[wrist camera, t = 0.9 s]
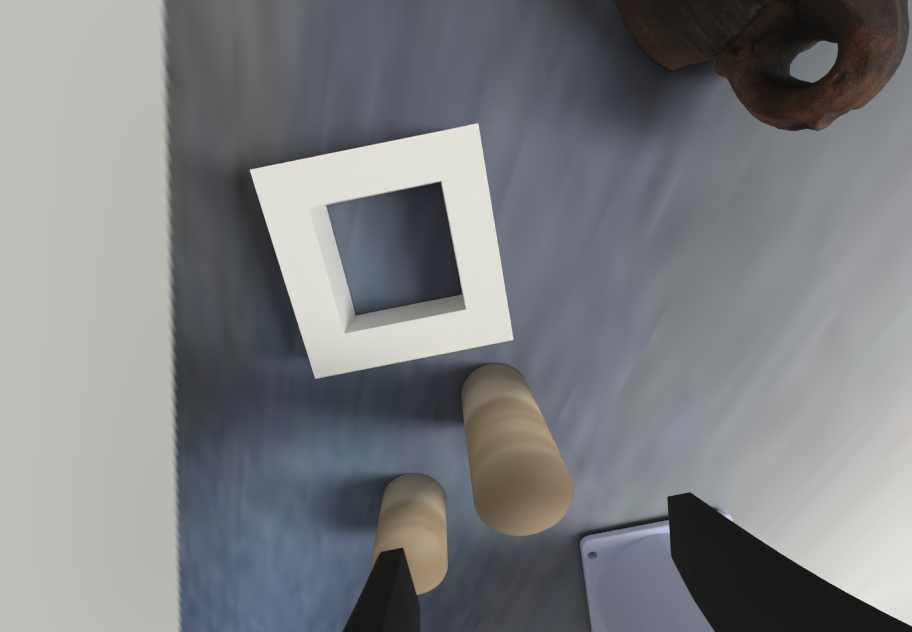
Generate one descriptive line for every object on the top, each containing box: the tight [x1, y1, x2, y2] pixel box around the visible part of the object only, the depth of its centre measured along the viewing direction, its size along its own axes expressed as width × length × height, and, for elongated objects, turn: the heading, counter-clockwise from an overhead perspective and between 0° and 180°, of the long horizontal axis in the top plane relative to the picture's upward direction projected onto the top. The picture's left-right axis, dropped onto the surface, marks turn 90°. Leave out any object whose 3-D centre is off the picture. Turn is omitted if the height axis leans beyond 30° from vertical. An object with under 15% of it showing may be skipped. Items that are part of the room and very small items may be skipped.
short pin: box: [371, 473, 448, 595], centre depth 20 cm, size 3×3×4 cm
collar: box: [250, 124, 513, 379], centre depth 17 cm, size 8×8×2 cm
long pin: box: [461, 363, 573, 536], centre depth 17 cm, size 3×3×7 cm
